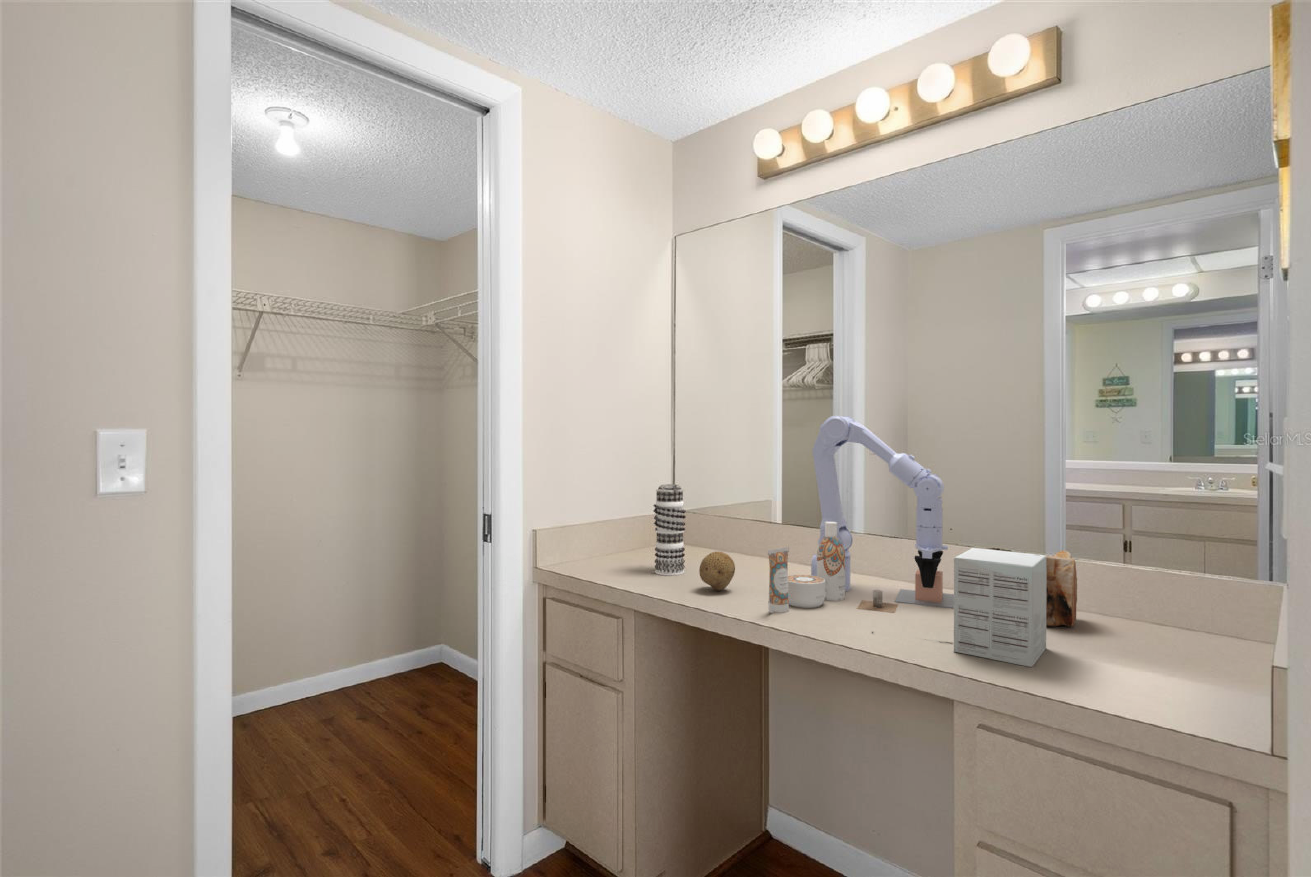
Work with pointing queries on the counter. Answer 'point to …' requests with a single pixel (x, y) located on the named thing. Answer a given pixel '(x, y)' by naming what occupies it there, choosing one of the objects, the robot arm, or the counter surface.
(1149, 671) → the counter surface
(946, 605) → the board
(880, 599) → the walnut stand
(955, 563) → the supplement box
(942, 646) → the counter surface
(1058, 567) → the stone
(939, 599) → the terracotta collar
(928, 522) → the robot arm
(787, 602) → the cosmetic set
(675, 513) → the decorative candle
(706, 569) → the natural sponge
